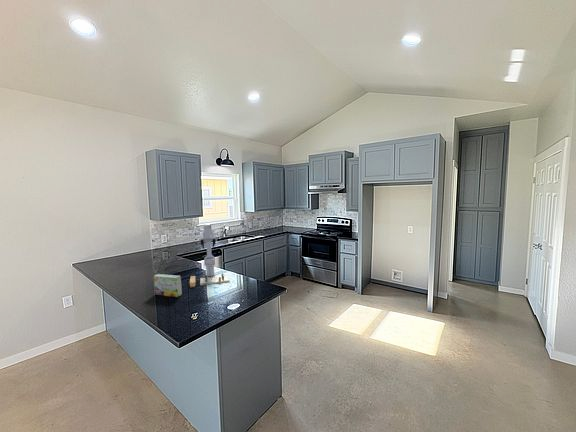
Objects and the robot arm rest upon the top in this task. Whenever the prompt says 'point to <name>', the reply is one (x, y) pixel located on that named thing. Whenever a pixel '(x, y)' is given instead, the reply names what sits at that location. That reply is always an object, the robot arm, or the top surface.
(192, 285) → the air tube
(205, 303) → the top surface
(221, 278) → the firebox plate
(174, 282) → the snack box
